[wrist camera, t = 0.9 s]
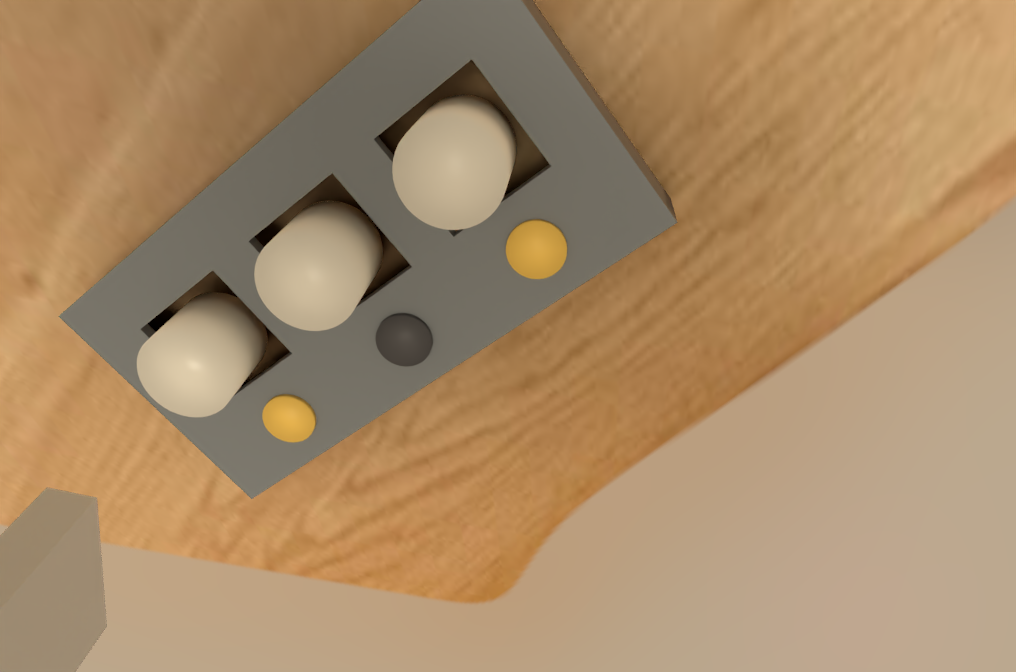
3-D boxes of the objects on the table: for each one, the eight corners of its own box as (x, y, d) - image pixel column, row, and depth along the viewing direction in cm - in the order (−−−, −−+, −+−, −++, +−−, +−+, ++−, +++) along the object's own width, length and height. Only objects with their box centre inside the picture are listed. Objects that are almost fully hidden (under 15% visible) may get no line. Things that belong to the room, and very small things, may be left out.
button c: (393, 136, 31) (368, 162, 28) (473, 72, 30) (457, 90, 26) (458, 216, 32) (442, 251, 29) (537, 158, 31) (531, 187, 28)
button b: (268, 236, 33) (232, 271, 30) (337, 181, 32) (307, 211, 29) (333, 307, 35) (306, 349, 31) (402, 257, 33) (380, 294, 30)
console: (96, 289, 38) (54, 319, 35) (493, -56, 30) (482, -54, 27) (273, 462, 42) (249, 502, 39) (670, 198, 33) (678, 225, 30)
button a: (161, 323, 36) (116, 364, 32) (221, 275, 34) (180, 313, 31) (225, 387, 37) (189, 433, 34) (285, 342, 36) (253, 386, 32)
